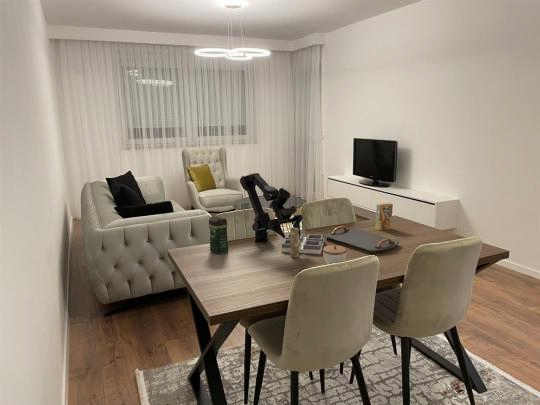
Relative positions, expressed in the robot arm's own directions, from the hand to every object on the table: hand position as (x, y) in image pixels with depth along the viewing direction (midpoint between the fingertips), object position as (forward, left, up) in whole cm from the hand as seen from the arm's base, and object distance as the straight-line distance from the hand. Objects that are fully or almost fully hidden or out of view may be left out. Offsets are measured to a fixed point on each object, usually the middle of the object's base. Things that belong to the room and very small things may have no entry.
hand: (292, 236), depth 205 cm
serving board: (+33, +26, -11) cm, 43 cm away
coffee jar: (-38, -1, -10) cm, 39 cm away
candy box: (+46, +55, -10) cm, 72 cm away
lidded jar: (+21, -9, -10) cm, 25 cm away
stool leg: (+1, -1, -10) cm, 10 cm away
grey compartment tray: (+3, +14, -10) cm, 18 cm away
